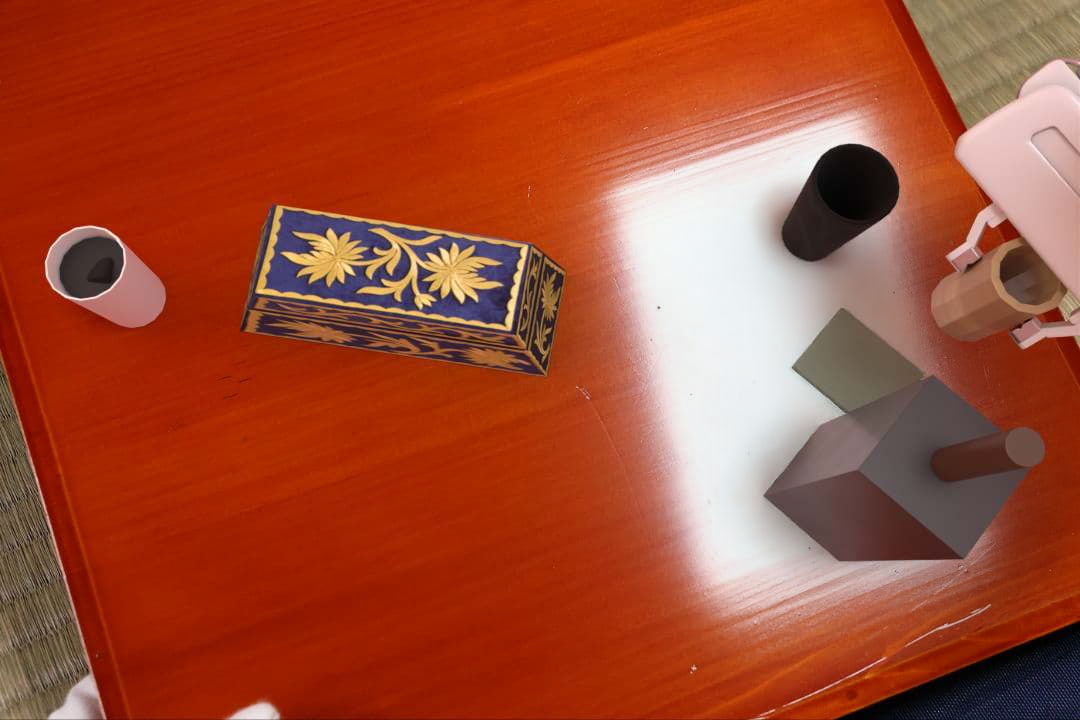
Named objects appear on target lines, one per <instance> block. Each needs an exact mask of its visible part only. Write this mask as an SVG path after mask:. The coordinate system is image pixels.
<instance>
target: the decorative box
mask: <svg viewBox="0 0 1080 720" xmlns="http://www.w3.org/2000/svg"><path fill="white" fill-rule="evenodd" d="M254 257H255V258H254V262H253V267H252V272H251V277H250V281H249V285H248V290H247V295H246V299H245V303H244V310H243V312H242V317H241V323H240V326H239V332H243V333H248V334H249V333H250V334H256V335H263V336H270V337H276V338H282V339H283V338H284V339H290V340H297V341H303V342H310V343H317V344H324V345H330V346H337V347H338V346H339V347H344V348H350V349H357V350H362V351H363V350H364V351H371V352H377V353H382V354H383V353H384V354H390V355H397V356H403V357H404V356H405V357H411V358H416V359H417V358H418V359H423V360H424V359H425V360H431V361H437V362H443V363H451V364H458V365H464V366H471V367H477V368H485V369H491V370H497V371H504V372H510V373H517V374H524V375H532V376H538V377H543V378H548V374H549V370H550V369H549V368H550V362H551V358H552V352H553V348H554V341H555V335H556V331H557V326H558V320H559V314H560V309H561V304H562V299H563V293H564V288H565V283H566V278H567V277H566V276H567V270H566V269H565V268H563V267H562V266H561V265H559V263H557V262H556V261H554V259H552V258H551V257H550V256H548V255H547V254H546V253H544V252H543V251H542V250H541V249H540V248H538V247H537V246H536V245H535V244H534V243H532V242H526V241H521V240H514V239H513V240H512V239H506V238H499V237H493V236H486V235H480V234H473V233H466V232H459V231H452V230H446V229H439V228H433V227H426V226H420V225H413V224H406V223H399V222H392V221H386V220H381V219H380V220H379V219H373V218H366V217H359V216H352V215H345V214H339V213H332V212H325V211H320V210H312V209H306V208H299V207H293V206H285V205H278V204H274V203H273V204H271V205H270V208H269V210H268V212H267V213H266V217H265V219H264V221H263V223H262V226H261V230H260V235H259V239H258V243H257V248H256V253H255V256H254Z"/></svg>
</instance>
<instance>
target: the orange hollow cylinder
mask: <svg viewBox="0 0 1080 720" xmlns="http://www.w3.org/2000/svg"><path fill="white" fill-rule="evenodd" d="M983 254H984V255H983V256H982V257H981V258H980V259H978V260H977V261H975V262H974V263H972V264H970V265H969V266H968V267H967V268H965V269H964V270H962V271H961V272H958V271H957V270H956V271H954V272H952V273H951V274H948V275H947V276H945V277H944V278H942V279H941V280H940V281H939V282H938V284H937V285H936V286H935V288H934V290H933V291H932V292H931V301H930V302H931V304H930V312H931V314H932V316H933V318H934V320H935V323H936V325H937V327H938V328H939V329H940V330H941V331H943V332H944V333H945V334H947V335H948V336H949V337H950V338H952V339H954V340H957V341H963V342H969V343H975V342H977V341H980V340H982V339H985V338H988V337H990V336H992V335H995V334H997V333H999V332H1002V331H1004V330H1007V329H1009V328H1013V327H1015V326H1016V325H1018V324H1022V323H1024V321H1026V320H1028V319H1031V318H1033V317H1038V316H1040V315H1043V314H1045V313H1047V312H1050V311H1052V310H1054V309H1056V308H1058V307H1059V305H1060V303H1061V302H1062V300H1063V299H1064V298H1065V297H1066V295H1067V293H1068V291H1069V290H1068V289H1067V288H1066V287H1065V286H1064V285H1063V283H1062V282H1061V281H1060V280H1059V279H1058V277H1057V276H1056V275H1055V274H1054V273H1053V272H1052V270H1051V269H1050V268H1049V267H1048V266H1047V265H1046V263H1045V262H1044V261H1043V260H1042V259H1041V257H1040V256H1039V255H1038V254H1037V253H1036V252H1035V250H1034V249H1033V248H1032V247H1031V246H1030V245H1029V243H1028V242H1027V241H1026V240H1025V239H1024V238H1023V236H1020V237H1016V238H1014V239H1011V240H1008V241H1006V242H1003V243H1002V244H999V245H998V246H997V247H996V246H995V248H993V249H991V250H989V251H988V252H986V253H983Z"/></svg>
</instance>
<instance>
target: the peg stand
mask: <svg viewBox="0 0 1080 720" xmlns="http://www.w3.org/2000/svg"><path fill="white" fill-rule="evenodd" d="M1045 456H1046V445H1045V442H1044V439H1043V438H1042V436H1041V435H1040V433H1038V432H1037V431H1036V430H1034V429H1033V428H1031V427H1028V426H1017V427H1013V428H1009V429H1006V430H1002V429H1000V427H999V426H997V425H996V424H995V423H994V422H993V421H991V420H990V419H988V418H987V417H986V416H985V415H983V414H982V412H980V411H979V410H978V409H977V408H975V407H974V406H973V405H971V404H970V403H969V402H968V401H966V400H965V399H964V398H963V397H961V396H960V395H959V394H958V393H956V391H954V390H953V389H951V387H949V386H948V385H947V384H946V383H944V382H943V381H942V380H941V379H939V378H938V377H937V376H936V375H934V374H931V375H929V376H926V377H924V378H922V379H921V380H919V381H917V382H915V383H913V384H910V385H908V386H906V387H904V388H902V389H899V390H897V391H895V392H893V393H890V394H888V395H886V396H884V397H882V398H879V399H877V400H875V401H873V402H870V403H868V404H866V405H864V406H861V407H859V408H857V409H855V410H853V411H850V412H848V413H846V412H845V413H844V414H841V415H839V416H837V417H835V418H833V419H830V420H828V421H826V422H824V423H821V424H820V425H819V426H818V427H817V429H815V431H814V433H813V434H812V435H811V436H810V437H809V438H808V440H807V441H806V442H805V443H804V445H803V446H802V447H801V448H800V449H799V451H798V452H797V453H796V455H795V456H794V457H793V458H792V459H791V461H790V462H789V463H788V465H787V466H786V467H785V468H784V469H783V471H782V472H781V473H780V474H779V475H778V477H777V478H776V479H775V480H774V482H773V483H772V484H771V485H770V487H768V489H767V490H766V491H765V493H764V494H763V497H764V498H765V499H766V500H768V502H770V503H771V504H772V505H773V506H774V507H776V509H778V510H779V511H780V512H781V513H782V514H783V515H785V516H786V517H787V518H788V519H789V520H790V521H792V522H793V523H794V524H795V525H796V526H798V527H799V528H800V529H801V530H802V531H803V532H804V533H806V534H807V535H808V536H809V537H810V538H811V539H812V540H814V541H815V542H816V543H817V544H819V545H820V546H821V547H822V548H823V549H824V550H825V551H827V553H829V554H830V555H831V556H832V557H834V559H836V560H837V561H838V562H841V563H842V562H843V563H845V562H846V563H847V562H892V561H893V562H899V561H900V562H902V561H953V560H954V561H958V560H966V558H967V557H968V555H969V554H970V553H971V551H972V550H973V549H974V547H975V546H976V545H977V543H978V542H979V541H980V539H981V538H982V536H983V535H984V534H985V532H986V531H987V530H988V528H989V527H990V525H991V524H992V523H993V521H994V520H995V519H996V517H997V516H998V514H999V513H1000V512H1001V510H1002V509H1003V508H1004V507H1005V505H1006V503H1007V502H1008V501H1009V500H1010V498H1011V496H1012V495H1013V494H1014V493H1015V491H1016V490H1017V488H1018V487H1019V486H1020V485H1021V483H1022V482H1023V480H1024V479H1025V478H1026V476H1027V475H1028V474H1029V472H1030V471H1031V469H1032V468H1033V467H1036V466H1039V464H1040V463H1042V461H1043V459H1044V457H1045Z"/></svg>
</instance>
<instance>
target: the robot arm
mask: <svg viewBox="0 0 1080 720" xmlns="http://www.w3.org/2000/svg"><path fill="white" fill-rule="evenodd" d="M1068 65H1071V66H1074V67H1076V68H1077V69H1076V70H1075V72H1074V71H1073V70H1072V69H1071V68H1070V67H1069V66H1068ZM953 153H954V157H955V159H956V160H957V161H958V163H959V164H960V165H961V166H962V167H963V168H964V170H965V171H966V172H967V173H968V174H969V175H970V177H971V178H972V179H973V180H974V181H975V182H976V184H977V185H978V186H979V187H980V188H981V190H982V191H983V192H984V193H985V194H986V195H987V197H988V198H990V200H991V201H992V203H991V204H989V205H988V206H986V207H985V208H984V209H981V210H980V212H978V213H977V215H976V218H975V220H974V222H973V224H972V226H971V228H970V230H969V232H968V235H967V236H966V238H965V240H966V241H965V242H964V243H962V244H961V245H959V246H958V247H957V248H955V249H954V250H952V251H951V252H949V253H948V254H946V255H945V258H946V260H947V261H948V262H949V263H950V265H951V266H952V267H953V268H954V269H955V270H956V271H958V272H961V271H962V270H964V269H965V268H967V267H968V266H969V265H970V264H972V263H974V262H975V261H977V260H978V259H980V258H981V257H982V256H983V255H984V254H985V253H984V252H983V251H982V250H981V248H980V247H978V244H979V243H980V241H981V239H982V236H983V235H984V233H985V230H986V228H987V226H989V227H990V228H992V229H994V228H995V227H997V226H998V225H1000V224H1001V223H1002V222H1004V221H1005V220H1008V221H1009V222H1010V224H1011V225H1012V226H1013V227H1014V228H1015V229H1016V231H1017V232H1018V233H1019V234H1020V235H1021V237H1023V238H1024V239H1025V240H1026V241H1027V242H1028V243H1029V245H1030V246H1031V247H1032V248H1033V249H1034V250H1035V252H1036V253H1037V254H1038V255H1039V256H1040V257H1041V259H1042V260H1043V261H1044V262H1045V263H1046V265H1047V266H1048V267H1049V268H1050V269H1051V270H1052V272H1053V273H1054V274H1055V275H1056V276H1057V277H1058V279H1059V280H1060V281H1061V282H1062V283H1063V285H1064V286H1065V287H1066V288H1067V289H1068V290H1067V291H1068V292H1069V293H1070V294H1071V295H1072V296H1073V298H1074V299H1075V300H1076V301H1077V302H1078V303H1079V304H1080V59H1078V58H1075V57H1071V56H1067V57H1066V56H1064V57H1063V56H1062V57H1058V58H1055V59H1052V60H1050V61H1048V62H1047V63H1045V64H1043V65H1042V66H1041V67H1040V68H1039V69H1037V70H1036V71H1035V72H1033V73H1032V74H1031V75H1029V76H1028V77H1027V78H1025V80H1024V81H1023V82H1022V84H1021V85H1020V86H1019V89H1018V91H1017V93H1016V99H1014V100H1013V101H1011V102H1009V103H1007V104H1005V105H1004V106H1002V107H1001V108H999V109H997V110H996V111H994V112H993V113H991V114H989V115H988V116H986V117H985V118H983V119H982V120H980V121H979V122H977V123H976V124H974V125H973V126H971V128H968V129H967V130H966V131H965V132H964V133H962V134H961V135H960V136H959V137H958V138H957V141H956V143H955V147H954V152H953ZM1008 334H1009V336H1010V337H1011V338H1012V340H1013V341H1014V342H1015V343H1016V345H1018V347H1019V348H1020V349H1021V350H1025V349H1027V348H1029V347H1031V346H1033V345H1034V344H1036V343H1037V342H1039V341H1041V340H1043V339H1044V338H1048V339H1049V338H1063V337H1078V336H1080V306H1078V307H1077V308H1075V309H1073V310H1072V311H1070V315H1069V319H1068V320H1062V321H1051V322H1050V321H1049V322H1041V321H1040V319H1038V316H1036V317H1033V318H1031V319H1028V320H1026V321H1024V322H1022V323H1019V324H1016V325H1014V326H1013V327H1011V329H1010V330H1009V331H1008Z"/></svg>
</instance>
